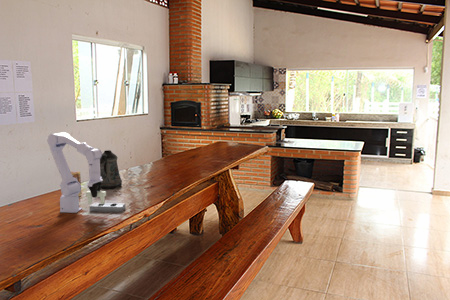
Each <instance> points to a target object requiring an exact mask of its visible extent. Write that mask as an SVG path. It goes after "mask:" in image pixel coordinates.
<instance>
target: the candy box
mask: <svg viewBox="0 0 450 300" xmlns="http://www.w3.org/2000/svg"><path fill="white" fill-rule="evenodd" d="M70 172H71V174H72V177H74V178H76V179H77V180H78V182H79V183H80V185H81V186H82V182H81V181H82V180H81V178H82V177H81V171H70ZM69 184H70V183H69ZM81 196H82V190H81V191H80V192H79V198H80V197H81Z"/></svg>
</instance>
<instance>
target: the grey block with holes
mask: <svg viewBox="0 0 450 300" xmlns="http://www.w3.org/2000/svg"><path fill="white" fill-rule="evenodd" d="M124 210H126V203H121V202H120V203H119V202H105V203H104V204H101V202H92V203H91V204H89V212H93V213H94V212H95V213H97V212H98V213H99V212H100V213H102V212H103V213H123V211H124Z"/></svg>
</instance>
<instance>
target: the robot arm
mask: <svg viewBox="0 0 450 300" xmlns="http://www.w3.org/2000/svg"><path fill="white" fill-rule="evenodd" d="M46 140H47V144H48V146H49V149H50V153H51V155H52V158H53V160H54V163H55V165H56V167H57V171H58V174H59V175H60V177H61V180H62V181H61V182H60V184H59V186H60V192H61V196H60V197H59V207H60V211H59V213H72V214H73V213H74V214H77V213H78V212H79V211H81V210H82V209H83V207H80V197H79V192H80V191H81V192H82V184H81V185H80V183H79V182H78V180H77V179H76V178H74V177H72V174H71V172H72V171H71V170H70V167H69V165H68V162H67V159H66V157H65V154H64V152H63V149H64V148H65V147H66V145H69V146H70V147H73V148H75V149H76V152H78V153H79V154H81V155H83V156H85V158H86V161H87V164H88V179H89V180H88V182H87V188H88V190H89V191H91V195H92V198H94V199H95V198H98V197H97V191H101V189H100V188H101V186H102V183H103V182H100V181H103V179H102V177H100V158H101V157H102V154H103V151H102V150H101V149H100V148H98V147H96V148H95V147H94V146H90V145H88V144H87V142H85V141H84V142H80V141H78V140H76V139H75V138H74V137H72V136H71V135H70V133H68V132H65V131H62V132H57V133H50V134H49V135H48V136H47V139H46ZM69 183H70V184H69Z"/></svg>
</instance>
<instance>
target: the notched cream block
mask: <svg viewBox="0 0 450 300" xmlns="http://www.w3.org/2000/svg"><path fill="white" fill-rule="evenodd" d="M85 197H86V198H87V204H88V205H92V204H93V197H92V195H91V191H90V190H87V191H85ZM106 197H107V191H105V190H100V191H97V197H96V198H100V203H101V204H104V203H106V201H105V200H106Z"/></svg>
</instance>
